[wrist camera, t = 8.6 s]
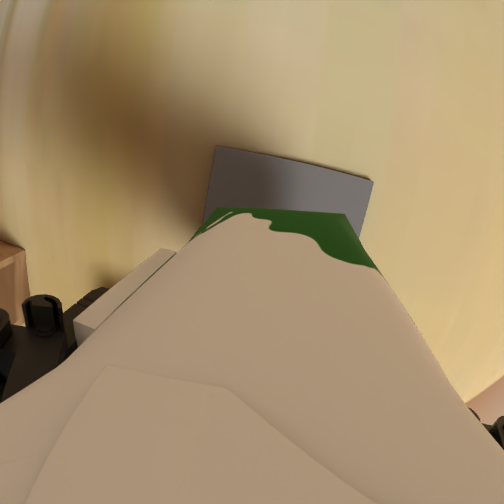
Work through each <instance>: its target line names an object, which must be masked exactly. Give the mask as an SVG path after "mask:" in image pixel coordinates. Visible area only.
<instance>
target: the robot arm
mask: <svg viewBox="0 0 504 504" xmlns="http://www.w3.org/2000/svg"><path fill="white" fill-rule="evenodd" d="M176 253H177V252H174V251H170V250H166V249H162V248H161V249H160V250H158V251H157V252H156V253H154V254H153V255H152V256H151V257H149V258H148V259H147V260H145V261H144V262H143V263H142V264H140V265H139V266H138V267H137V268H135V269H134V270H133V271H132V272H130V273H129V274H128V275H127V276H125V277H124V278H123V279H122V280H120V281H119V282H118V283H117V284H115V285H114V286H113V287H112V288H111V289H108V288H105V287H101V288H98V289H95V290H92V291H91V292H89V293H88V294H87V295H85V296H84V297H83V299H80V300H79V301H78V302H77V304H74V305H73V306H71V307H70V308H69V309H68V310H66V311H65V312H64V313H63V311H62V303H61V302H60V300H59V299H58V298H56V297H54V296H51V295H46V294H45V295H35V296H31V297H29V298H28V299H26V300H25V301H24V302H23V303H22V304H21V305H22V310H23V315H24V320H25V325H26V327H23V326H19V325H14V324H11V321H10V316H9V314H8V312H7V311H6V310H4V309H1V308H0V403H2V402H3V401H5V400H7V399H8V398H10V397H11V396H13V395H15V394H16V393H18V392H19V391H21V390H23V389H24V388H26V387H27V386H29V385H30V384H32V383H33V382H35V381H36V380H38V379H40V378H41V377H43V376H44V375H46V374H47V373H49V372H50V371H52V370H53V369H55V368H56V367H58V366H59V365H60V364H61V363H63V362H64V361H65V360H66V359H67V358H68V357H69V356H70V355H71V354H72V353H73V352H74V351H75V350H76V349H77V348H78V347H79V346H80V345H81V344H82V343H83V342H84V341H85V340H86V339H87V338H88V337H89V336H90V335H91V334H92V333H94V332H95V331H96V330H97V329H98V328H99V327H100V326H101V325H102V324H103V323H104V322H105V321H106V320H107V319H108V318H109V317H110V316H111V315H112V314H113V313H114V312H115V311H116V310H117V309H118V308H119V307H120V306H121V305H122V304H123V303H124V302H125V301H126V300H127V299H128V298H129V297H130V296H131V295H132V294H134V293H135V292H136V291H137V290H138V289H139V288H140V287H141V286H142V285H143V284H144V283H145V282H146V281H147V280H148V279H149V278H151V277H152V276H153V275H154V274H155V273H156V272H157V271H158V270H159V269H160V268H161V267H162V266H163V265H164V264H166V263H167V262H168V261H169V260H170V259H171V258H172V257H173V256H174V255H175V254H176ZM469 410H470V411H471V412H472V413H473V414H474V415H475V417H476V418H477V419H478V420H479V421H480V419H479V417H478V415H477V414H476V413H475V412H474V411H473V410H472V409H470V408H469ZM481 424H482V425H483V426H484V427H485V428H486V430H487V431H488V432H489V433H490V434H491V436H492V437H493V438H494V439H495V440H496V442H497V443H498V444H499V445H500V446H501V448H502V449H503V450H504V416H501V417H499V418H498V419H497V421H496V422H495V423H494V424H493V425H492V426H491V425H486V424H483V423H481Z"/></svg>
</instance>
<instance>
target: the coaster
mask: <svg viewBox="0 0 504 504" xmlns="http://www.w3.org/2000/svg"><path fill="white" fill-rule="evenodd" d="M373 183H374V182H373V181H370V180H367V179H363V178H360V177H356V176H353V175H349V174H345V173H342V172H338V171H334V170H330V169H326V168H322V167H318V166H314V165H310V164H306V163H301V162H297V161H293V160H288V159H284V158H279V157H274V156H270V155H265V154H260V153H255V152H249V151H244V150H239V149H233V148H227V147H221V146H216V148H215V154H214V159H213V165H212V170H211V176H210V182H209V188H208V193H207V199H206V206H205V212H204V218H203V224H204V222H205V221H206V220H207V219H208V217H209V216H210V215H211V214H212V212H213V211H214V210H215V209H216V207H232V208H265V209H281V210H297V211H312V212H327V213H341V214H345V215H346V217H347V219H348V220H349V222H350V224H351V226H352V228H353V229H354V231H355V233H356V235H357V237H358V238H359V236H360V232H361V229H362V225H363V221H364V218H365V214H366V210H367V207H368V203H369V199H370V195H371V191H372V187H373ZM203 224H202V225H203Z"/></svg>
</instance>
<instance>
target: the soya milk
mask: <svg viewBox="0 0 504 504" xmlns="http://www.w3.org/2000/svg"><path fill="white" fill-rule="evenodd" d="M0 504H504V450H503V449H502V448H501V446H500V445H499V444H498V443H497V442H496V440H495V439H494V438H493V437H492V436H491V434H490V433H489V432H488V431H487V430H486V428H485V427H484V426H483V425H482V424H481V422H480V421H479V420H478V419H477V418H476V417H475V415H474V414H473V413H472V412H471V411H470V410H469V408H468V407H467V406H466V405H465V403H464V402H463V400H462V399H461V398H460V396H459V395H458V393H457V392H456V391H455V389H454V388H453V386H452V385H451V384H450V382H449V380H448V378H447V377H446V375H445V373H444V372H443V370H442V368H441V366H440V365H439V363H438V361H437V360H436V358H435V356H434V354H433V353H432V351H431V349H430V348H429V346H428V344H427V343H426V341H425V340H424V338H423V336H422V335H421V333H420V331H419V330H418V328H417V327H416V325H415V323H414V322H413V320H412V319H411V317H410V316H409V314H408V313H407V311H406V310H405V308H404V306H403V305H402V303H401V302H400V300H399V299H398V297H397V296H396V294H395V293H394V291H393V290H392V289H391V287H390V286H389V284H388V283H387V281H386V280H385V278H384V277H383V275H382V274H381V273H380V271H379V270H378V268H377V267H376V265H375V264H374V263H373V261H372V260H371V258H370V257H369V256H368V254H367V253H366V251H365V250H364V248H363V246H362V244H361V242H360V240H359V238H358V237H357V235H356V233H355V231H354V229H353V228H352V226H351V224H350V222H349V220H348V219H347V217H346V215H345V214H341V213H327V212H312V211H297V210H281V209H265V208H232V207H216V209H215V210H214V211H213V212H212V214H211V215H210V216H209V217H208V219H207V220H206V221H205V222H204V224H203V225H202V226H201V227H200V228H199V230H198V231H197V232H196V233H195V235H194V236H193V237H192V238H191V240H190V241H189V242H188V243H187V244H186V245H185V246H184V247H183V248H182V249H181V250H180V251H179V252H178V253H176V254H175V255H174V256H173V257H172V258H171V259H170V260H169V261H168V262H167V263H166V264H164V265H163V266H162V267H161V268H160V269H159V270H158V271H157V272H156V273H155V274H154V275H153V276H152V277H151V278H149V279H148V280H147V281H146V282H145V283H144V284H143V285H142V286H141V287H140V288H139V289H138V290H137V291H136V292H135V293H134V294H132V295H131V296H130V297H129V298H128V299H127V300H126V301H125V302H124V303H123V304H122V305H121V306H120V307H119V308H118V309H117V310H116V311H115V312H114V313H113V314H112V315H111V316H110V317H109V318H108V319H107V320H106V321H105V322H104V323H103V324H102V325H101V326H100V327H99V328H98V329H97V330H96V331H95V332H94V333H92V334H91V335H90V336H89V337H88V338H87V339H86V340H85V341H84V342H83V343H82V344H81V345H80V346H79V347H78V348H77V349H76V350H75V351H74V352H73V353H72V354H71V355H70V356H69V357H68V358H67V359H66V360H65V361H64V362H63V363H61V364H60V365H59V366H58V367H56V368H55V369H53V370H52V371H50V372H49V373H47V374H46V375H44V376H43V377H41V378H40V379H38V380H36V381H35V382H33V383H32V384H30V385H29V386H27V387H26V388H24V389H23V390H21V391H19V392H18V393H16V394H15V395H13V396H11V397H10V398H8V399H7V400H5V401H3V402H2V403H0Z"/></svg>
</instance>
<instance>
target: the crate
mask: <svg viewBox="0 0 504 504" xmlns="http://www.w3.org/2000/svg"><path fill="white" fill-rule="evenodd" d="M29 297H30V292H29V285H28V277H27V269H26V258H25V250H24V249H22V248H19V247H16V246H14V245H11V244H8V243H6V242H3V241H1V240H0V308H1V309H4V310H6V311H7V312H8V314H9V316H10V321H11V324H14V325H19V326H20V325H21V324H23V323H24V322H25V320H24V315H23V310H22V305H21V304H22V303H23V302H24V301H25V300H26V299H28V298H29Z"/></svg>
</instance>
